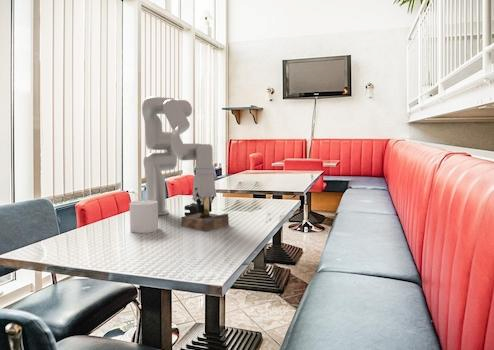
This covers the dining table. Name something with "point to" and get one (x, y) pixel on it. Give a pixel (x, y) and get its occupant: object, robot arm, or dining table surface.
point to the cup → (143, 216)
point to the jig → (205, 221)
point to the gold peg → (205, 208)
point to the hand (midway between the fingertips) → (204, 211)
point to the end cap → (191, 209)
